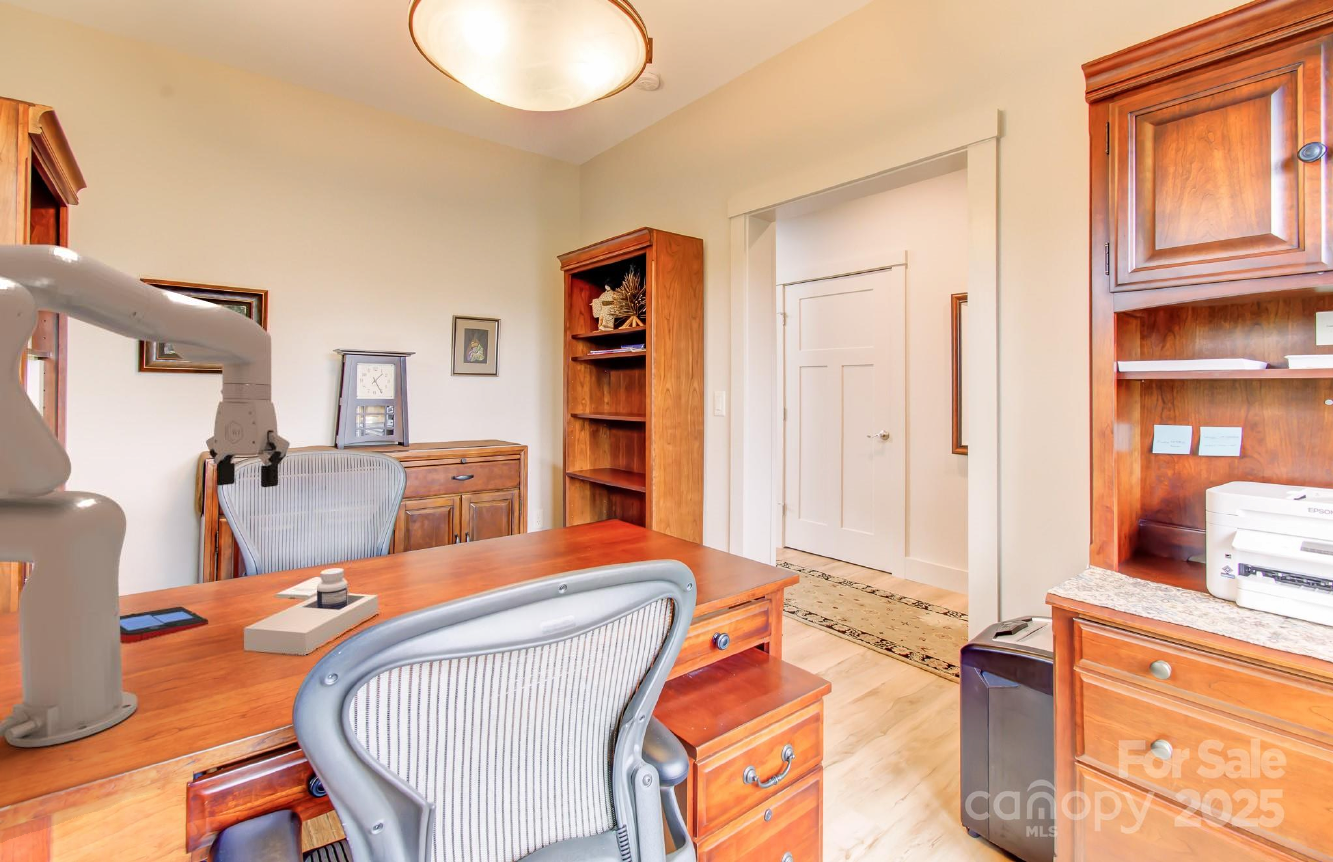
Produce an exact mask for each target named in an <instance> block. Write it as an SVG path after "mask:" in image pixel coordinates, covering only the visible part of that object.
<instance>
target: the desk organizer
mask: <svg viewBox="0 0 1333 862" xmlns="http://www.w3.org/2000/svg"><path fill="white" fill-rule="evenodd" d="M376 612H378V613H379V595H377V594H366V593H365V594H364V593H350V592H348V606H346V607H344V608H342V609H340V610H333V609H319V608H317V596H315V597H312V598H310V599H305V600H304V601H302V602H298V603H297V604H295V605H292V606H291V607H287V608H286V609H283V610H282V611H279V612H277V613H275V614H272V615H270V616H268V617H266V618H264V619H261V620H259V621H257V622H254V623H253V624H252V623H251V625H248V626H245V627H244V628H243V636H244V637H243V639H244V640H243V644H244V647H243V648H244V649H243V650H244V651H247V652H249V651H250V652H260V653H270V654H282V653H283V655H295V654H296V656H307V655H306V654H307V653H309V652H310V651H312V650H313V649H316V648H317V647H318V646H320V645H321V644H323V643H325V642H327V641H328V640H330V639H331V638H332V637H334V636H337V635H339V634H340V633H341V632H344V631H345V630H346V629H348V628H349V627H352V626H353V625H354V624H357V623H358V622H359V621H361V620H362V619H365V618H367V617H369V616H371V615H372V614H375V613H376ZM284 653H285V654H284ZM297 654H298V655H297ZM303 654H304V655H303Z"/></svg>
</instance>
